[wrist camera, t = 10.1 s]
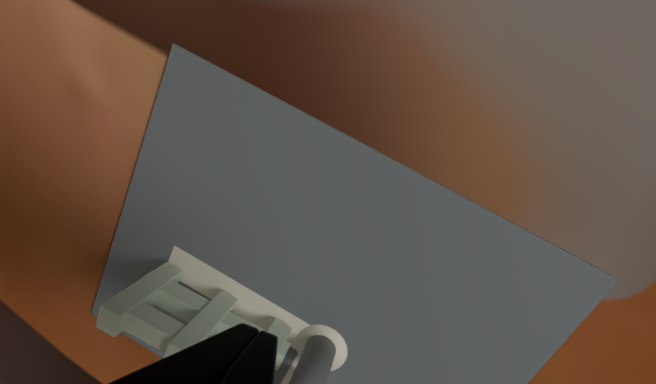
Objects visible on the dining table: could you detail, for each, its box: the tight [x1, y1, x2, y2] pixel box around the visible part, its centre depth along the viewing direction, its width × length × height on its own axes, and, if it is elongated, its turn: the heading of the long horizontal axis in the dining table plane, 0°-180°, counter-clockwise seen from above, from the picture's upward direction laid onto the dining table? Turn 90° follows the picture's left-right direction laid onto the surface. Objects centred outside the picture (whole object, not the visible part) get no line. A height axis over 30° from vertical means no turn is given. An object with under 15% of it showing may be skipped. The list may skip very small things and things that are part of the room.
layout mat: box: [91, 44, 619, 384], centre depth 19 cm, size 22×17×1 cm
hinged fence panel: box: [95, 262, 292, 371], centre depth 17 cm, size 8×1×4 cm, turn 67°
